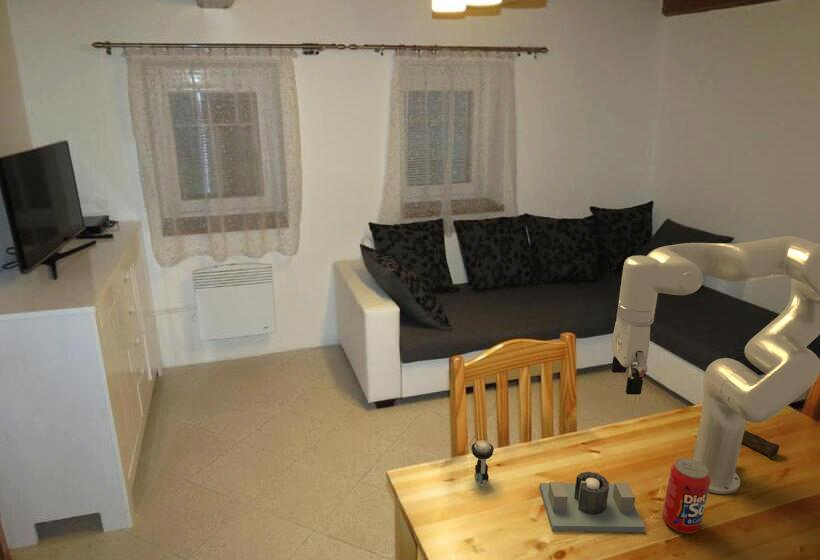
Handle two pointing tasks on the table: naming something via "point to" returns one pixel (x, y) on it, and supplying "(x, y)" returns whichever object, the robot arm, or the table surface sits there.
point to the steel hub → (592, 494)
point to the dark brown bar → (760, 444)
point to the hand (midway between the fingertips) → (625, 382)
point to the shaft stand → (570, 518)
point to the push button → (482, 460)
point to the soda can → (686, 495)
